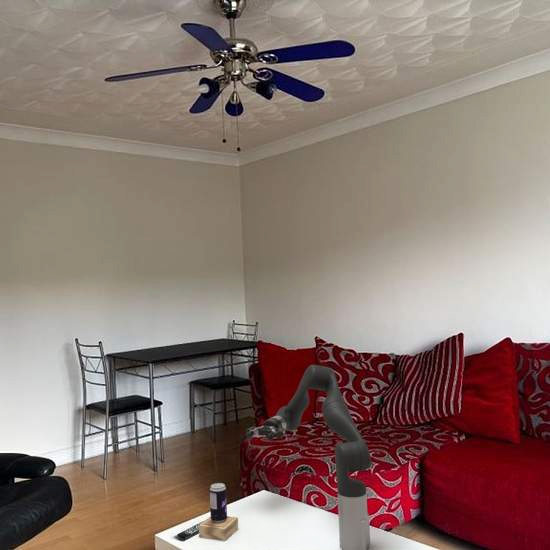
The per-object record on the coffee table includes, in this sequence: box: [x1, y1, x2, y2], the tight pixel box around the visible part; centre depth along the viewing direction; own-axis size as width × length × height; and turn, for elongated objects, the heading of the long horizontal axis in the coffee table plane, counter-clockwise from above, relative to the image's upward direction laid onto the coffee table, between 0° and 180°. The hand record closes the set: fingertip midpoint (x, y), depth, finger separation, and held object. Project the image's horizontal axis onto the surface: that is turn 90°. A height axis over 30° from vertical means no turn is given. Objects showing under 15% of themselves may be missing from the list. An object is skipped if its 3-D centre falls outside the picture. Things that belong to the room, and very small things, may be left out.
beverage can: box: [209, 482, 228, 523], centre depth 198 cm, size 6×6×12 cm
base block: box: [198, 515, 239, 542], centre depth 198 cm, size 10×10×4 cm
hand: (258, 436), depth 211 cm, fingers open, 8 cm apart
